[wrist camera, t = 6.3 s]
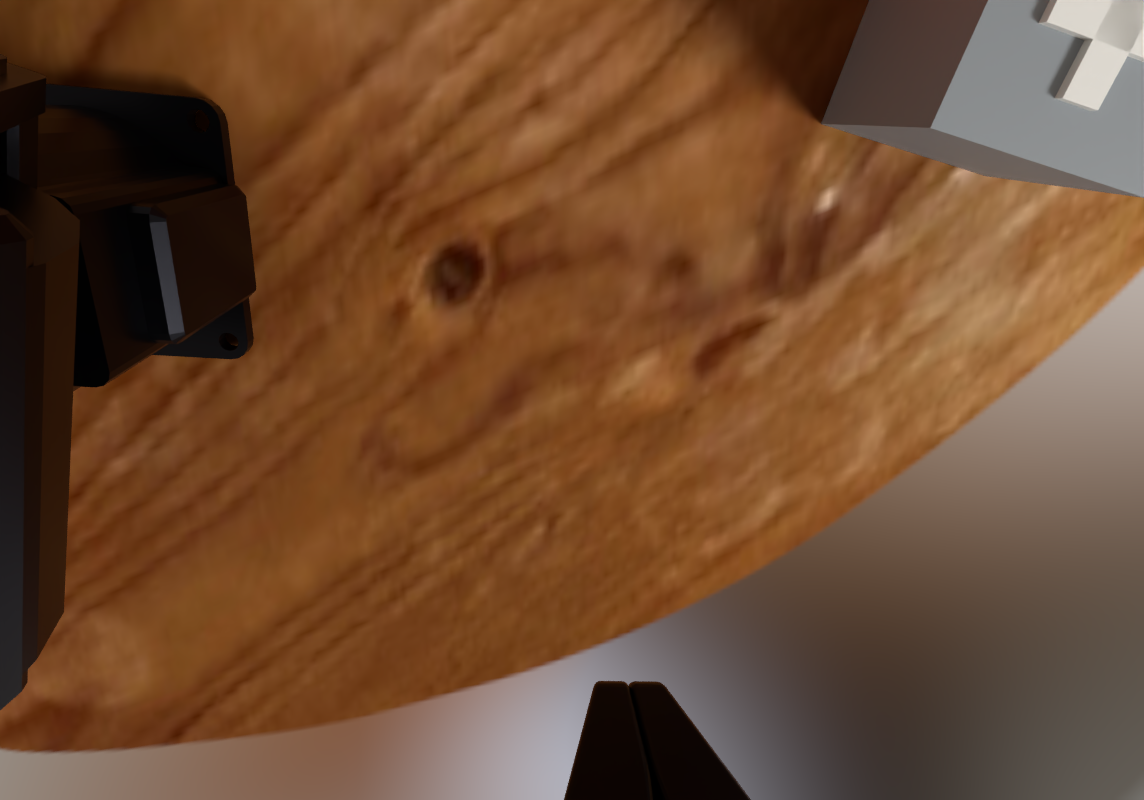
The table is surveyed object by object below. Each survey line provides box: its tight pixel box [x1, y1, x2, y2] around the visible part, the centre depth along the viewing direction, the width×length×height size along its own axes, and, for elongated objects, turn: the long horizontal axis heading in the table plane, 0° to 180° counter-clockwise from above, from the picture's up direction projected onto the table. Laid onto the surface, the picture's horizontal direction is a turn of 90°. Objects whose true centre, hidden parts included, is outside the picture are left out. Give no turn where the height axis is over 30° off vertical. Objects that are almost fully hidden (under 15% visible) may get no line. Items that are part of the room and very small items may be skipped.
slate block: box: [821, 0, 1144, 198], centre depth 14 cm, size 5×5×5 cm
